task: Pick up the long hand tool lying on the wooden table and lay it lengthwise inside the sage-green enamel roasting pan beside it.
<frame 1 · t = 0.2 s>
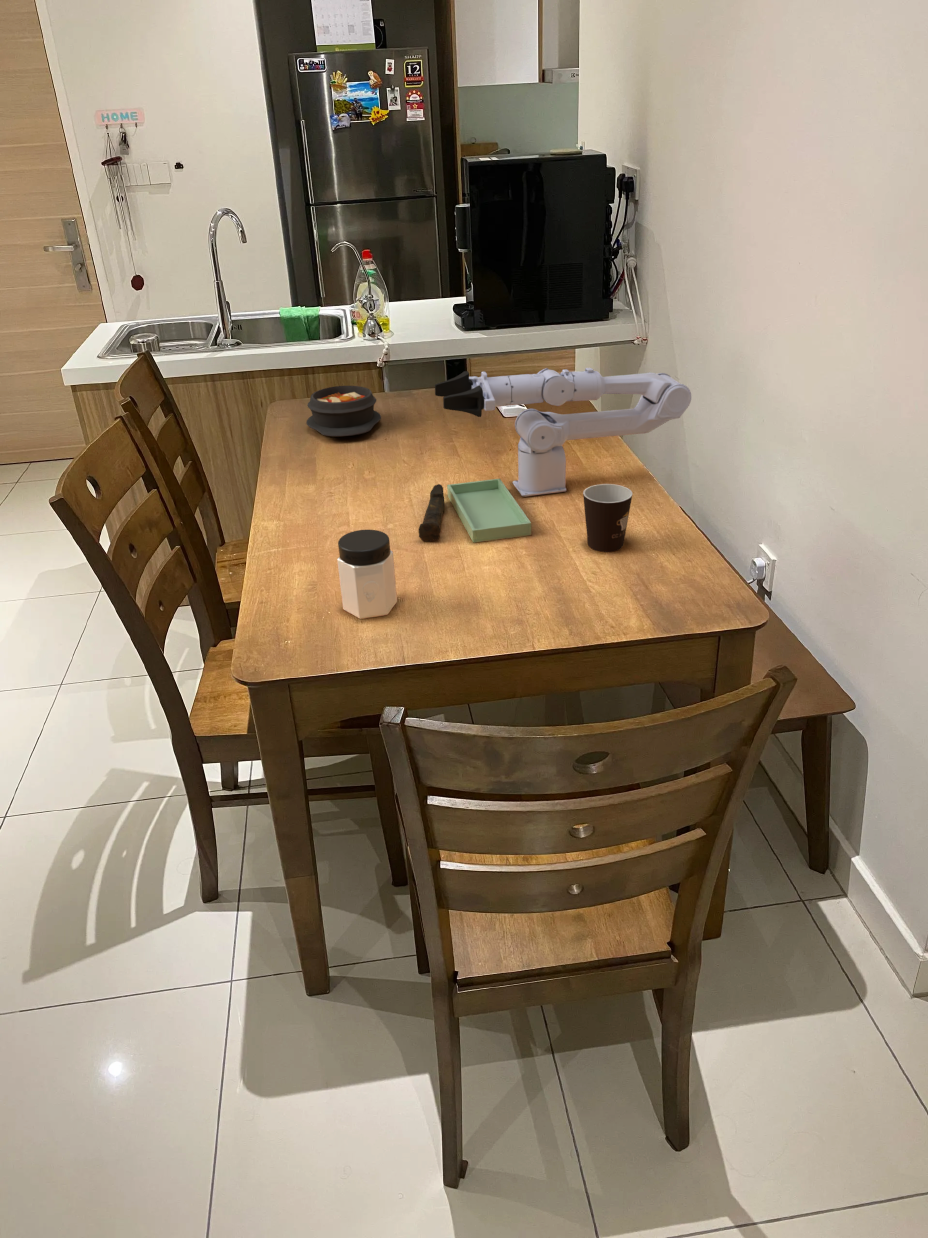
hand: (439, 396, 179), 22 cm above the table, tool horizontal, fingers open, 7 cm apart
casserole: (344, 427, 233), on the table
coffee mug: (612, 543, 170), on the table
jar: (370, 607, 153), on the table
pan: (487, 514, 183), on the table
hand tool: (432, 522, 181), on the table
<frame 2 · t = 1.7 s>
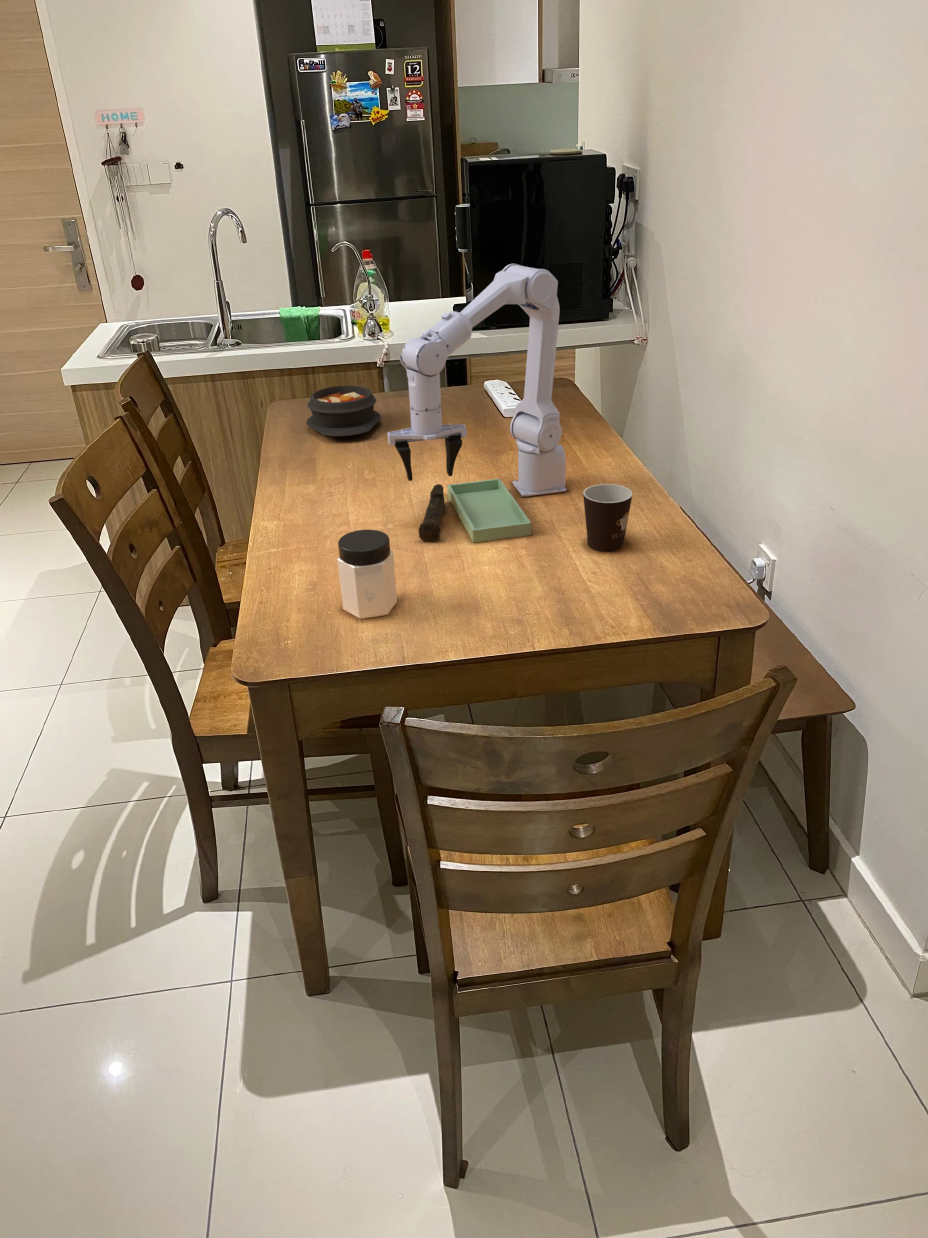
hand: (429, 476, 176), 9 cm above the table, tool pointing down, fingers open, 7 cm apart
nothing on the table moved.
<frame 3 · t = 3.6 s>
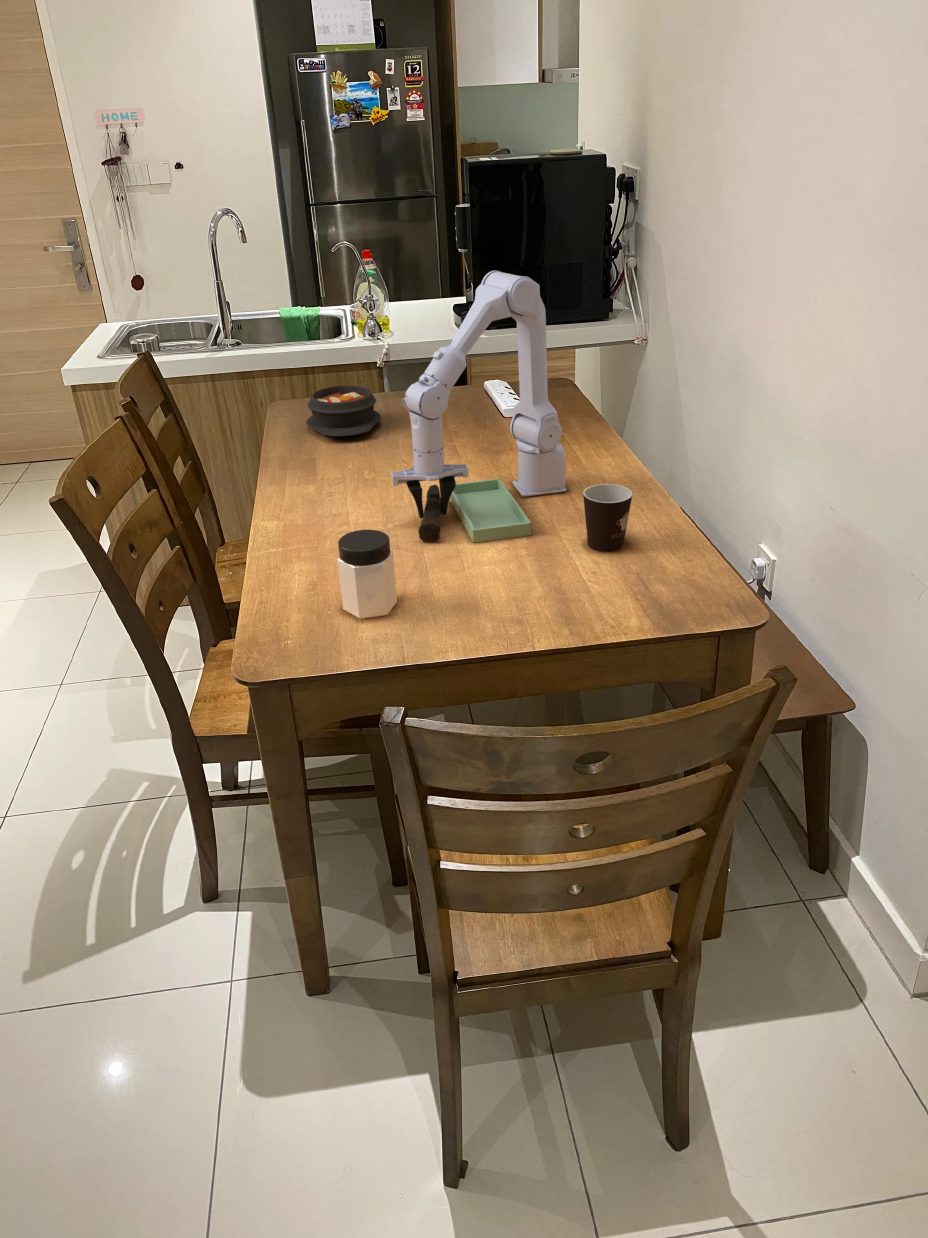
hand: (432, 514, 180), 1 cm above the table, tool pointing down, fingers closed on hand tool, 4 cm apart
hand tool: (430, 522, 181), on the table, touching gripper
everything else where it was.
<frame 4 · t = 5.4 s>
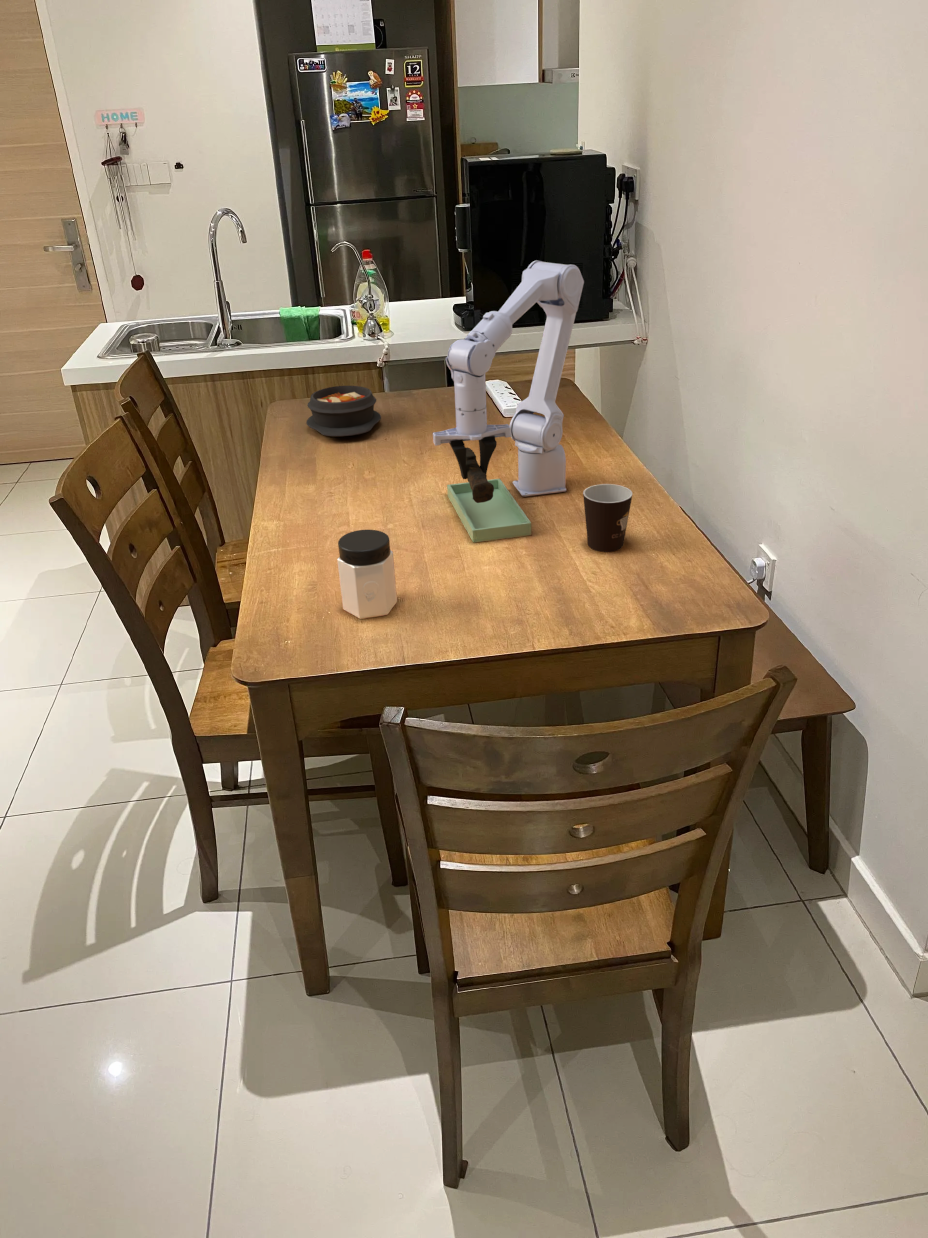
hand: (473, 476, 178), 8 cm above the table, tool pointing down, fingers closed on hand tool, 3 cm apart
hand tool: (472, 485, 179), point 7 cm above the table, touching gripper
everything else where it was.
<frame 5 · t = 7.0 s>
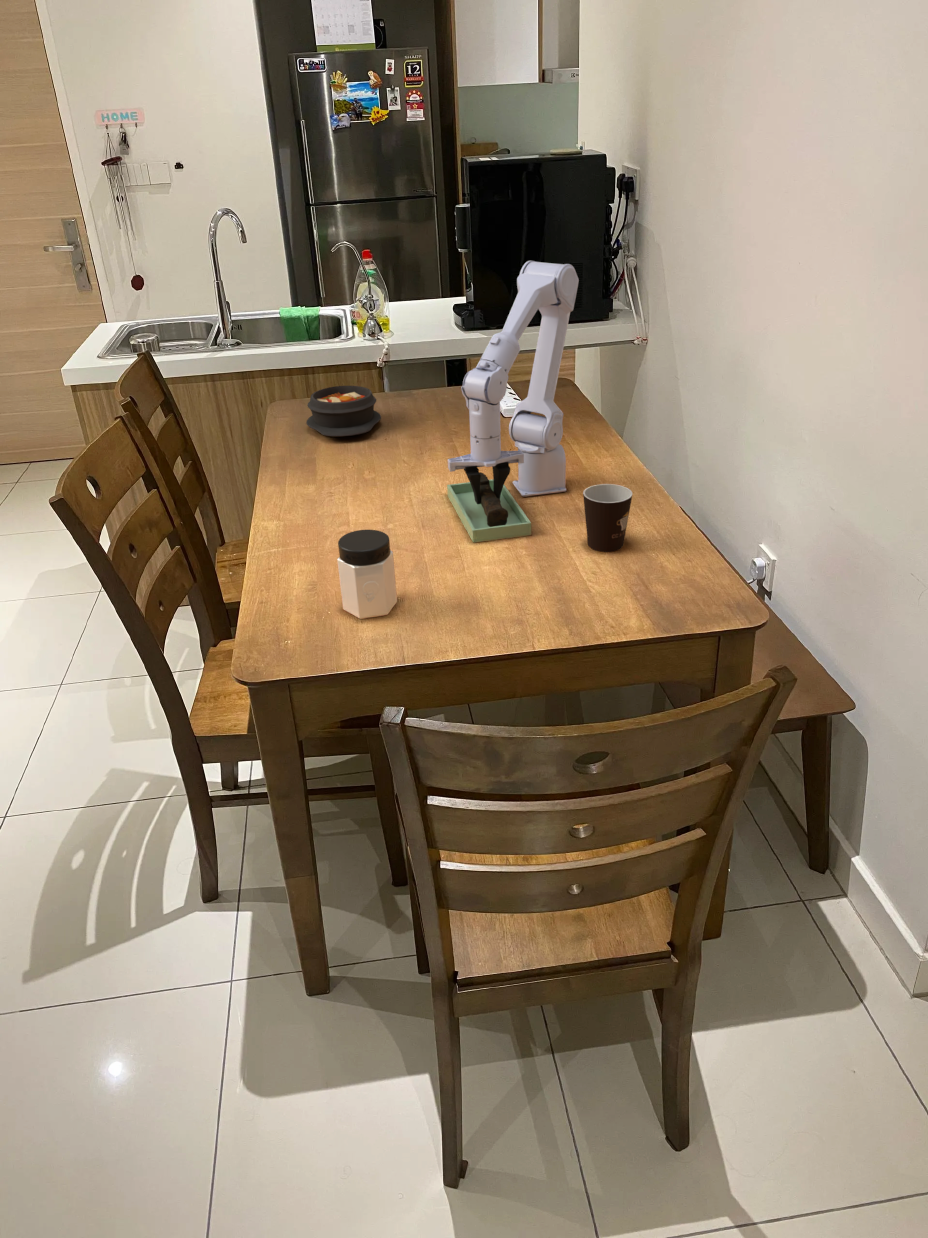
hand: (487, 501, 182), 3 cm above the table, tool pointing down, fingers closed on hand tool, 3 cm apart
hand tool: (485, 510, 182), point 1 cm above the table, touching gripper
everything else where it was.
when the fingers open (2 cm above the table, at t = 7.6 s): hand tool stays where it is, resting on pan.
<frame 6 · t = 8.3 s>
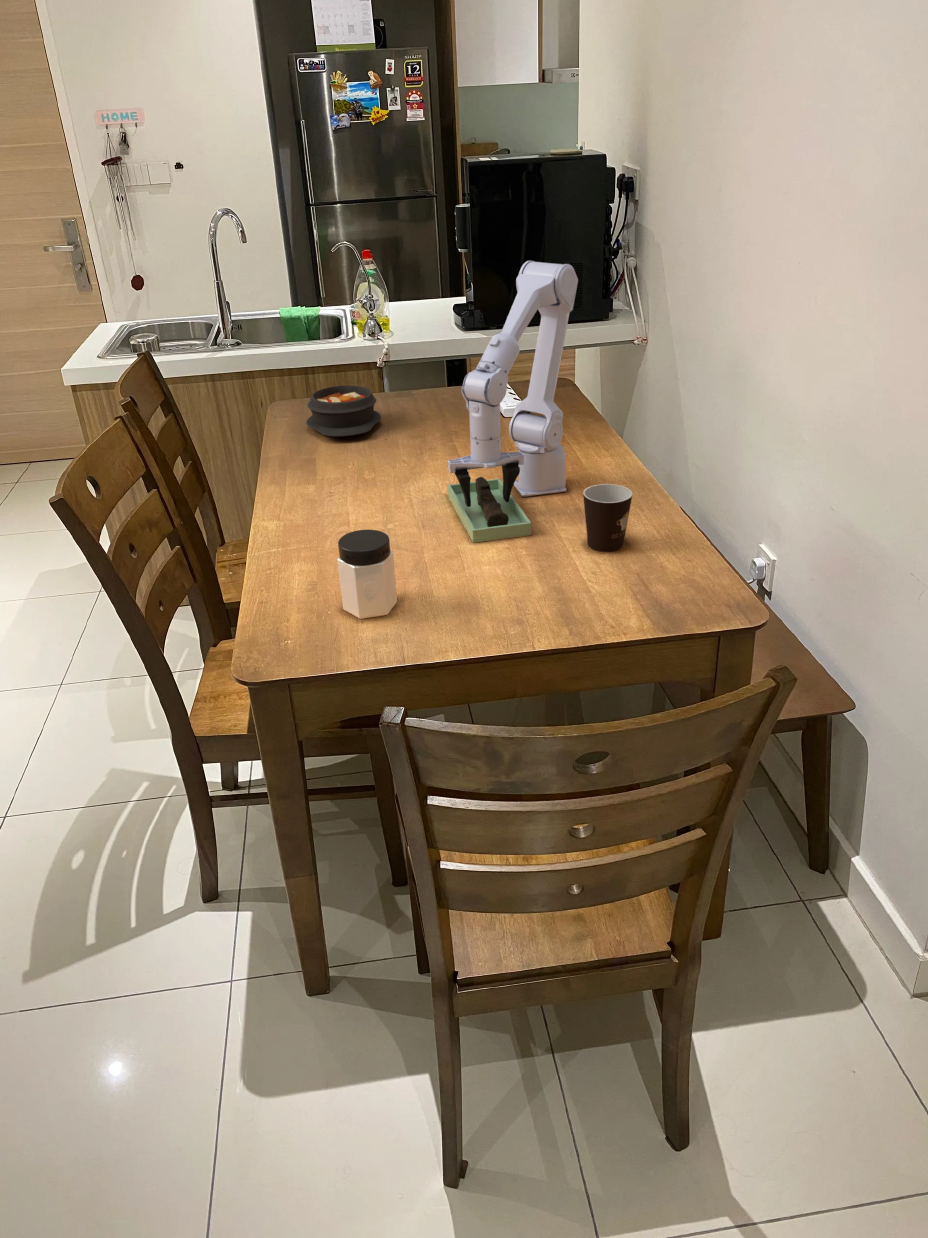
hand: (487, 502, 182), 3 cm above the table, tool pointing down, fingers open, 7 cm apart
hand tool: (485, 514, 182), resting on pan
everything else where it was.
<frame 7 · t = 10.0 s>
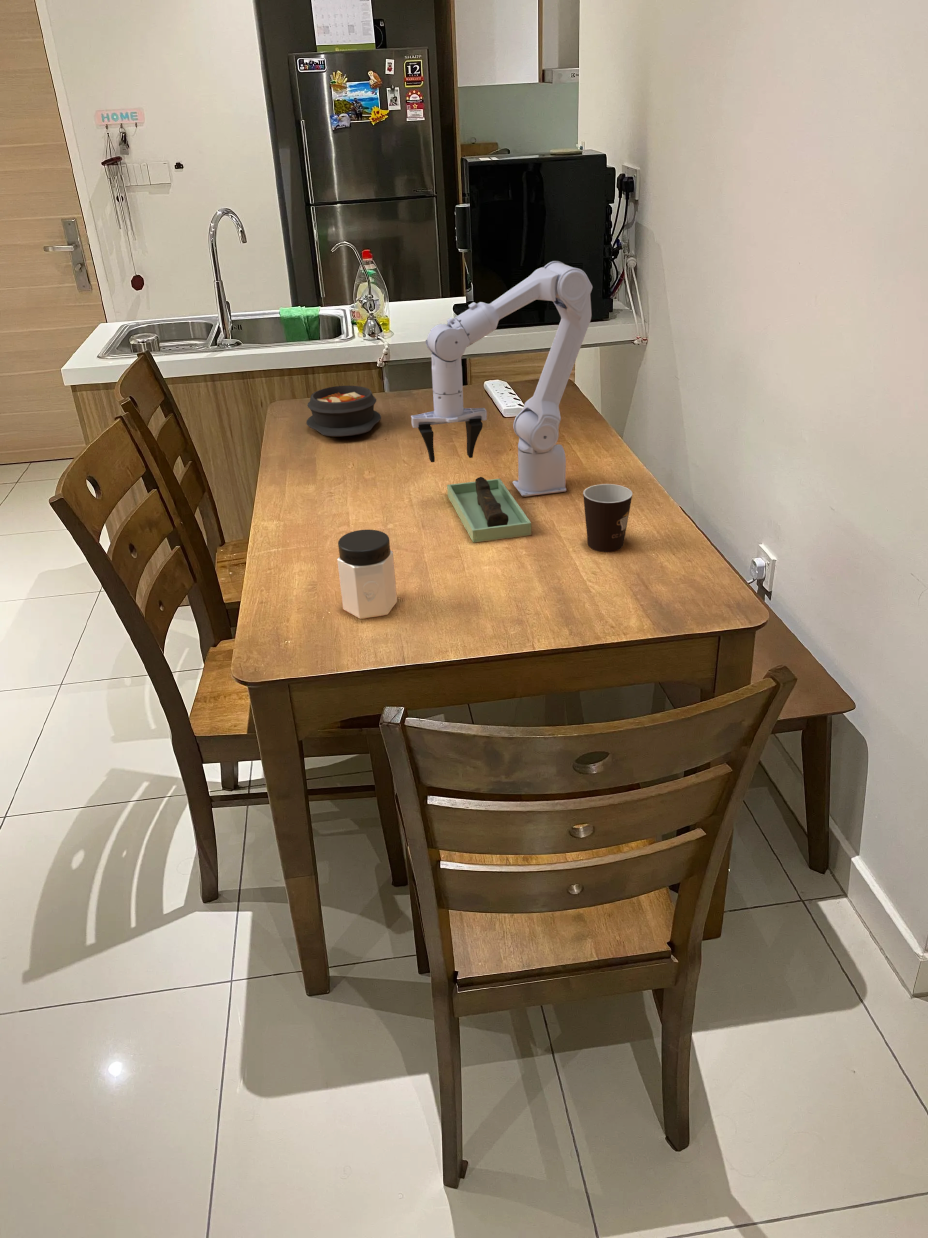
hand: (451, 458, 184), 9 cm above the table, tool pointing down, fingers open, 7 cm apart
nothing on the table moved.
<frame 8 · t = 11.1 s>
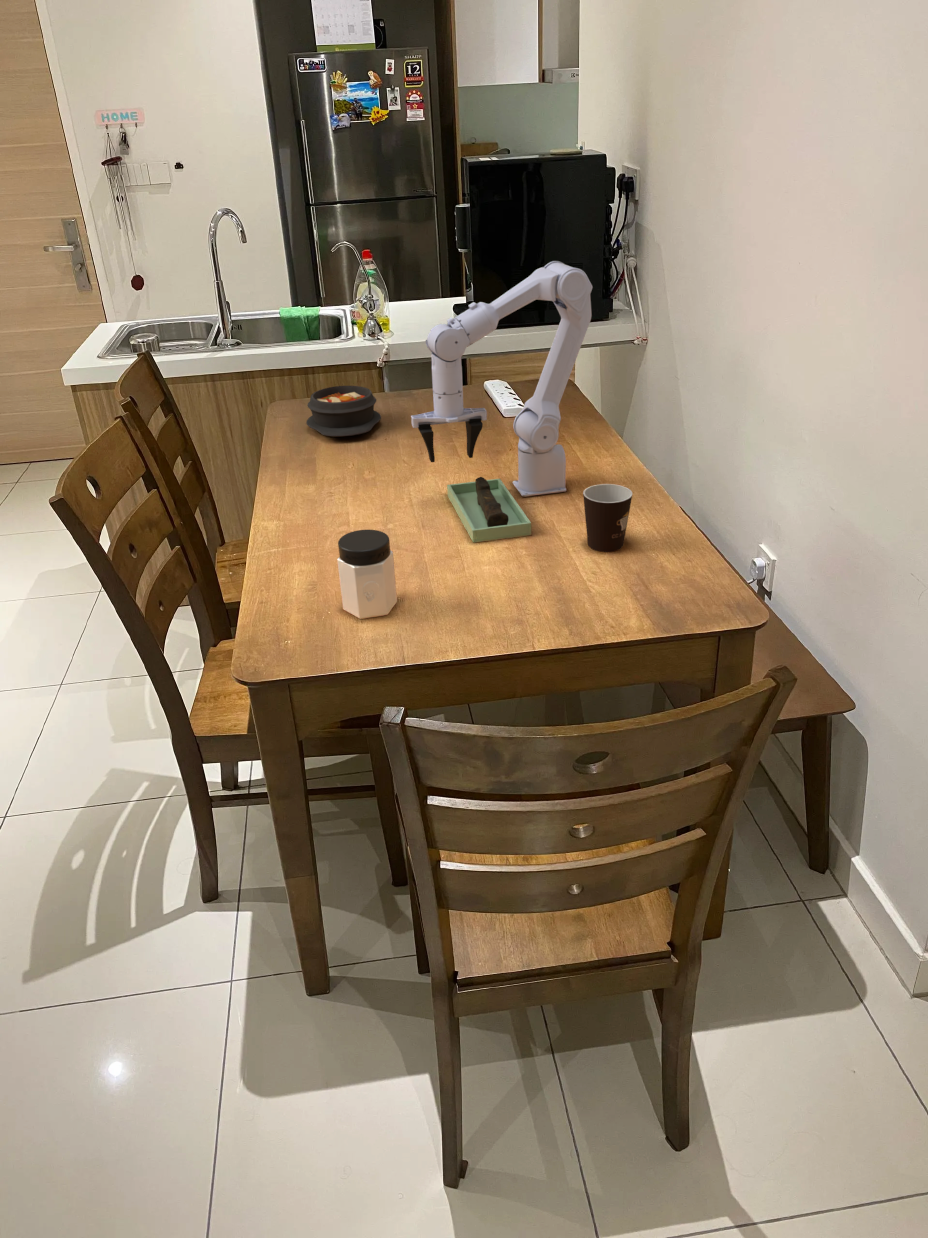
hand: (451, 458, 184), 9 cm above the table, tool pointing down, fingers open, 7 cm apart
nothing on the table moved.
at the end: hand tool 0.7 cm off-centre in the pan, point 0.3 cm above the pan's base; hand tool tilted 0°; the gripper is holding nothing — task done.
